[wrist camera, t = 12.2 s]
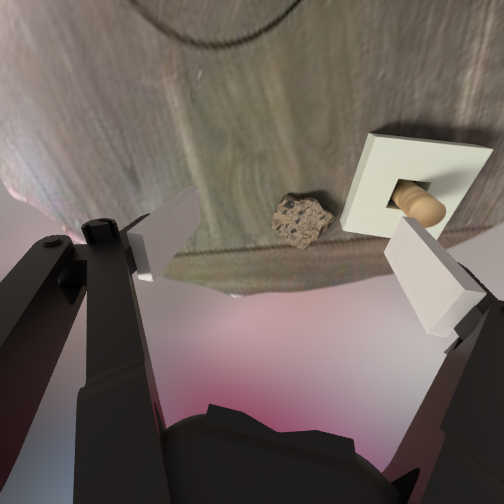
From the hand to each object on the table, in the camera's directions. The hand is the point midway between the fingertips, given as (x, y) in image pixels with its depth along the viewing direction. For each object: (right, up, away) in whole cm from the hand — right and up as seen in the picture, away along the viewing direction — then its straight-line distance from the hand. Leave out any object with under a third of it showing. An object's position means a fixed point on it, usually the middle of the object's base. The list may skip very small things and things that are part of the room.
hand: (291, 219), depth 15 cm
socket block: (+24, +10, +26) cm, 36 cm away
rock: (+8, +5, +33) cm, 34 cm away
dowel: (+24, +9, +26) cm, 37 cm away
